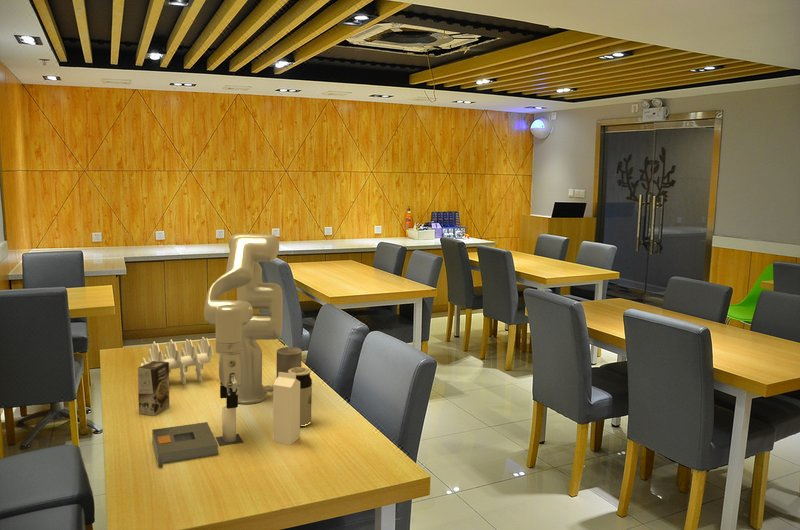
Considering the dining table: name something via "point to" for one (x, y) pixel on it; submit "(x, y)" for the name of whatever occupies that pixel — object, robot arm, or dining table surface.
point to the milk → (286, 408)
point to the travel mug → (304, 393)
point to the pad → (238, 440)
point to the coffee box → (153, 387)
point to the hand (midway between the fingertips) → (228, 402)
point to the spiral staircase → (187, 358)
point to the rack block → (183, 443)
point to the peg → (229, 424)
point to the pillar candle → (288, 359)
